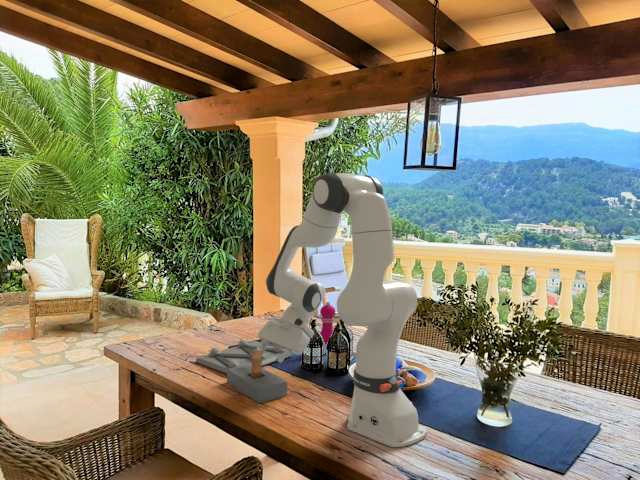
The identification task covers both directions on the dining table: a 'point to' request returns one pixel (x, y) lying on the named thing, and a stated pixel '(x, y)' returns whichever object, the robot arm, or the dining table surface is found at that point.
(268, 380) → the socket block
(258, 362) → the peg
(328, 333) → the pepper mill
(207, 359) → the grey crossed stick tray
